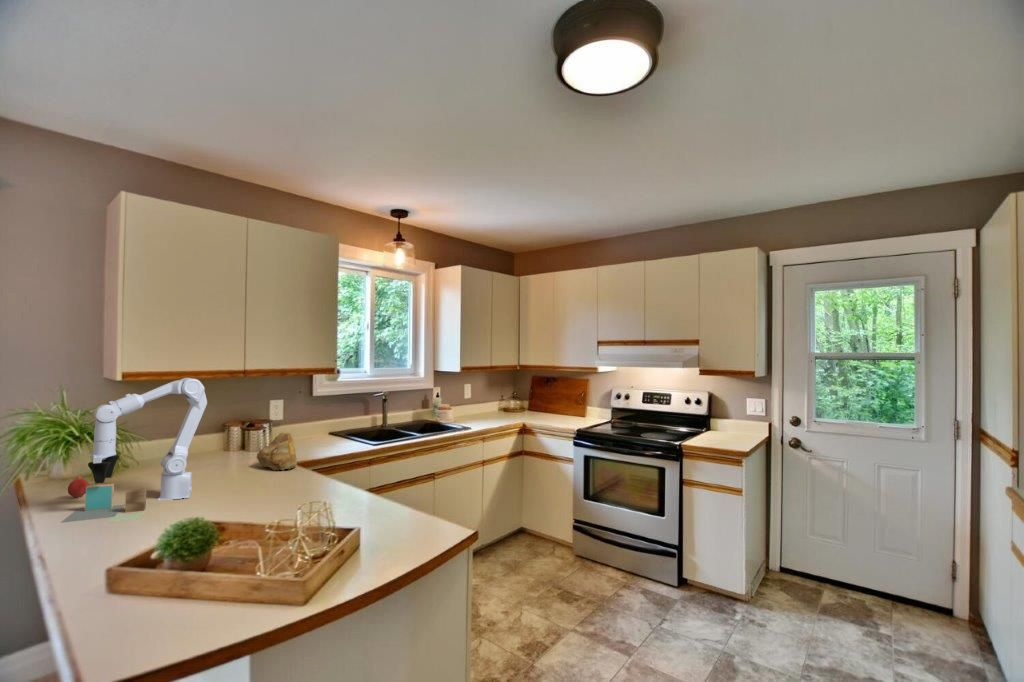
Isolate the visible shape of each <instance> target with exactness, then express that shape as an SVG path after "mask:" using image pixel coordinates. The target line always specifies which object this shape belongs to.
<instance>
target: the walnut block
mask: <svg viewBox="0 0 1024 682" xmlns="http://www.w3.org/2000/svg"><path fill="white" fill-rule="evenodd" d="M124 505H125V506H124V514H128V513H137V512H145V510H146V508H147V488H141V489H131V490H130V489H129V490H127V491H126V492H125V504H124Z"/></svg>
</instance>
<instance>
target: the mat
mask: <svg viewBox="0 0 1024 682" xmlns="http://www.w3.org/2000/svg"><path fill="white" fill-rule="evenodd" d="M123 508H125V504H117V505H113V508H112V509H104V510H94V511H85V508H77V509H76V510H74V511H73V512H72V513H70V515H67V517H66V518H64V519H63V520H61V522H60V523H71V522H79V521H87V520H98V519H107V518H108V519H110V518H112V517H114V515H118V514H119V512H120V511H122V509H123Z"/></svg>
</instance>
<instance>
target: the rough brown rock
mask: <svg viewBox="0 0 1024 682" xmlns="http://www.w3.org/2000/svg"><path fill="white" fill-rule="evenodd" d="M295 448H296V447H295V439H294V437H293V435H292V433H290V432H285V433H284V432H280V433H279V434H278V435H277V436H276V437H275V438H274V439H273V440H272V441H271V442H270V444H269V445H267V446H265V447H263V448H261V449H260V450H259V451H258V452H257V455H256V460H257V461H258V462H259V463H260V465H261V466H262V467H263V466H264V467H263V468H269V469H271V470H273V471H275V470H278V471H280V470H281V471H286V470H285V469H288V470H291V468H292V469H294V468H296V466H298V463H297V462H298V461H297V454H296V453H297V452H296V449H295Z"/></svg>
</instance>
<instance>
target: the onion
mask: <svg viewBox="0 0 1024 682" xmlns="http://www.w3.org/2000/svg"><path fill="white" fill-rule="evenodd" d="M87 486H90V483H89V481H87V480H86V479H84V478H82V476H81V475H79V476H77V478H76V479H74V480H73V481H71V482H70V484H69V485H68V487H67V493H68V495H70V497H74V498H75V499H78V498H79V497H80V498H82V497H83V496H85V495H86V487H87ZM80 498H79V499H80Z"/></svg>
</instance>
